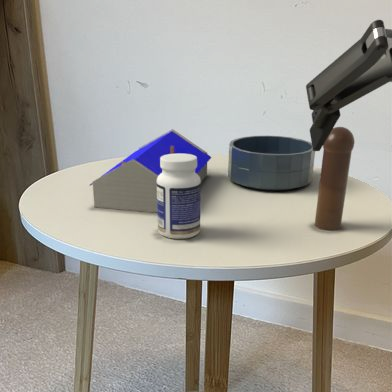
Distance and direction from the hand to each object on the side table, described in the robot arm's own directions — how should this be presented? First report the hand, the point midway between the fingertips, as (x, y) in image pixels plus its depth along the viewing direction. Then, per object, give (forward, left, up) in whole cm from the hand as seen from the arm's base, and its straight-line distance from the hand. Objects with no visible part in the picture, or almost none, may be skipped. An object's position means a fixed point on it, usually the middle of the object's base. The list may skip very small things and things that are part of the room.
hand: (370, 139), depth 69 cm
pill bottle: (+21, -9, -14) cm, 27 cm away
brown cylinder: (0, -9, -14) cm, 17 cm away
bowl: (+2, -32, -14) cm, 35 cm away
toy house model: (+22, -29, -14) cm, 39 cm away
